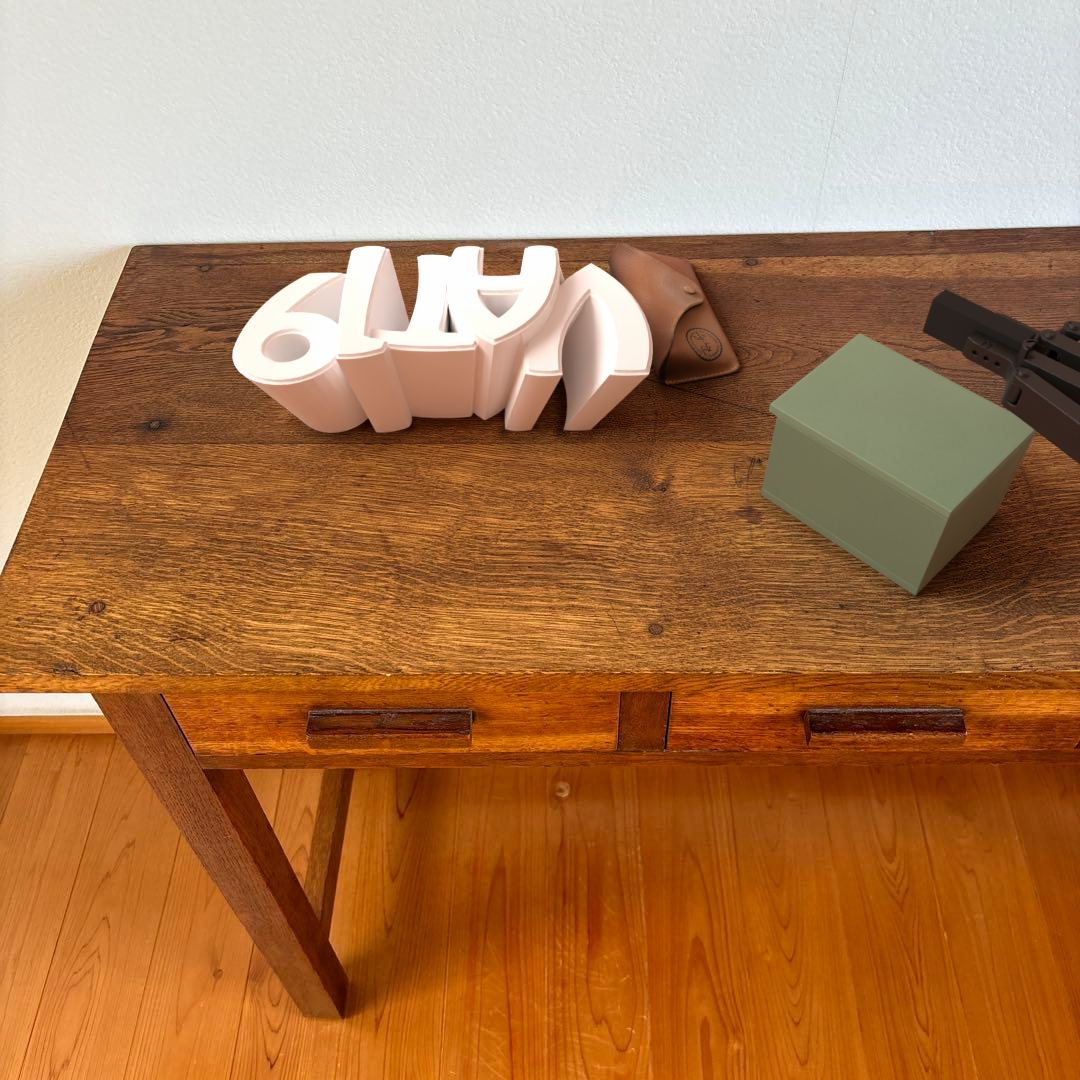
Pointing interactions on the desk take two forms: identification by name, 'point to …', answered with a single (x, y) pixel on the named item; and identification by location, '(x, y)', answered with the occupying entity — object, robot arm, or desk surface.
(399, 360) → the wavy white extrusion
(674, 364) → the sunglasses case
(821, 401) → the lid
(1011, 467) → the box
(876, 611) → the desk surface
